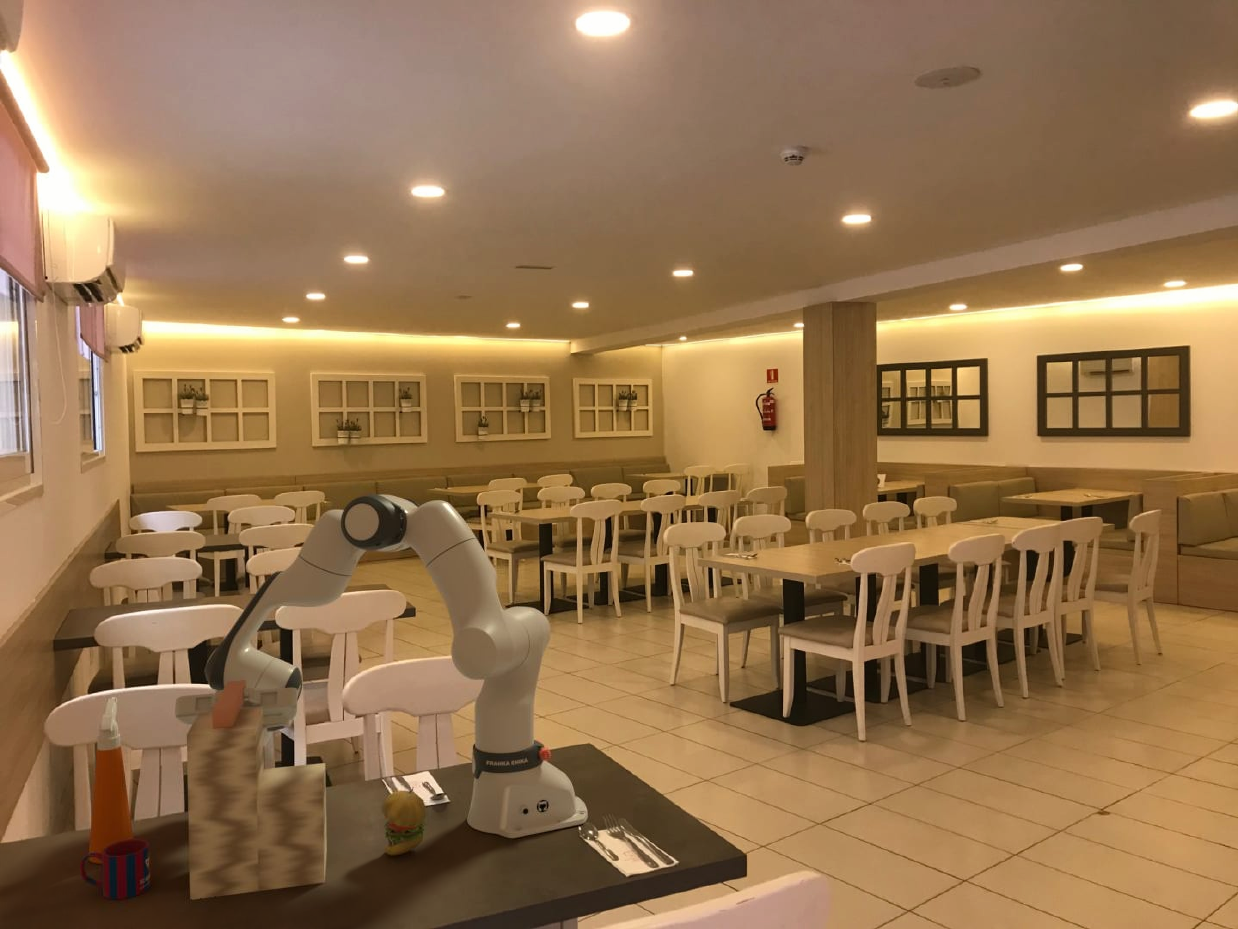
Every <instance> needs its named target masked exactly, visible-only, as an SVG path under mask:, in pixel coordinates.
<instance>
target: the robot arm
mask: <svg viewBox="0 0 1238 929" xmlns="http://www.w3.org/2000/svg"><path fill="white" fill-rule="evenodd" d="M303 542H304V543H303V544H302V546H301V548H300V549H299V550H300V551H299V552H298V554H297V556H296V558H295V560H294V561H293V562H292V563H291V564H290V566H288V567H287V568H286V569H284V570H279V571H275V572H274V573H272V574H271V575H270V576H269V577H268V578H267V579H266V580H265V581H264V582H263V583H262V585H261V586H260V587H259V589H258V590H257V591H256V592H255V594H254V595H253V597H252V598H251V600H250V601H249V602H248V604H247V605H246V606H245V608H244V610H243V611H242V612H241V614H240V616H239V617H238V618H237V620H236V621H235V622H234V624H233V626H232V627H231V629H230V630H229V632H228V633H227V635H226V636H225V637H224V639H222V641H221V642H220V644H219V645H218V646H217V648H215V649H214V651H213V652H212V653H211V654H210V656H209V658H208V659H207V662H206V664H205V667H204V670H203V671H204V675H205V678H206V681H207V683H208V686H209V687H210V689H211V690H215V693H205V694H203V693H201V694H191V695H189V694H188V695H180V696H178V697H177V698H176V700H175V711H174V713H175V714H174V715H175V719H177V720H178V721H179V722H180V723H183V724H185V725H191V726H192V725H193V723H194V721H195V719H196V718H197V716H198V714H199V713H206V712H212V709H213V707H214V706H215V704H216V702H217V700H218V698H219V697H220V695H221V693H222V691H223V689H224V688H225V686H226V684H227V682H229V681H242V680H246V689H243V700H244V703H243V706H242V708H241V710H243V709H256V708H263V747H265V745H267V744H268V742H269V740H270V738H271V737H272V734H273V732H275V731H279V730H282V729H287V728H290V727H291V726H292V721H293V719H294V718H295V717H296V716H297V713H298V701H299V699H300V696H301V693H302V688H303V677H302V673H301V671H300V668H299V667H297V666H296V665H294V664H291V663H290V662H286V661H284V660H283V659H280V658H277V657H275V656H272V655H269V654H268V653H266V652H263V651H261V650H259V649H256V648H255V647H254V646H253V645H252V642H251V641H252V639H253V638H254V637H255V635H256V633H257V632H258V631H259V629H260V628H261V627H262V625H263V624H264V622H265V621H266V619H267V617H268V616H269V615H270V613H272V611H273V610H274V609H275V608H281V607H298V608H299V607H300V608H316V607H322V606H327V605H329V604H331V603H334V602H336V601H337V600H338V599H339V598H340V597H341V596H342V595H343V593H344V591H345V590H346V589H347V586H348V584H349V582H351V581H350V580H351V578H352V576H353V574H354V572H355V569H356V567H357V565H358V562H359V561H360V559H361V557H362V556H363V555H364V554H365V553H366V552H368V551H369V552H373V551H375V552H380V553H393V552H394V553H395V552H404V551H405V552H406V551H408V550H414V551H415V553H416V554H417V555H418V557H419V559H420V560H421V562H422V563H423V566H424V568H425V569H426V571H427V572H428V574H429V576H430V577H431V578H430V579H432V581H433V583H434V585H435V587H436V589H437V591H438V593H439V594H440V596H441V598H442V599H443V601H444V604H445V606H446V608H447V611H448V615H449V620H450V624H451V627H452V632H453V638H452V642H451V649H450V651H451V652H450V654H451V659H452V662H453V664H454V667H455V668H456V670H457V671H458V672H459V673H460V675H462V676H463V677H465V678H468V679H470V680H475V681H477V680H483V682H482V686H481V688H480V692H479V693H478V696H477V698H476V700H475V703H474V744H473V745H472V753H471V768H472V774H473V777H474V778H473V789H472V796H471V802H470V806H469V812H468V815H467V819H466V821H467V824H468V825H469V826H470V827H471V828H473V829H475V830H478V831H479V832H484V833H489V834H496V835H498V836H502V837H504V838H506V839H507V838H508V839H515V838H516V839H517V838H520V837H525V836H526V837H527V836H530V835H535V834H541V833H545V832H551V831H554V830H560V829H564V828H568V827H574V826H579V825H582V824H585V823H586V822H587V820H588V818H589V815H588V813H589V812H588V808H587V806H586V803H585V802H584V801H583V800H582V799H581V798H580V797H578V796H577V795H576V794H575V788H574V786H573V784H572V781H571V780H570V778H569V777H568V776H567V774H566V773H565V772H563V771H562V770H560V769H559V768H557V767H556V766H554V765H553V764H551V763H550V762H548V760H550V758H551V756H552V754H551V751H550V750H549V748H548V747H546V746H545V745H544V744H543V743H542V742H540V741H539V739H535V700H536V699H535V698H536V691H537V686H538V682H539V675H540V672H541V667H542V660H543V657H544V654H545V651H546V648H547V646H548V644H549V642H550V639H551V632H552V631H551V626H550V622H549V621H548V619H547V617H546V615H545V614H544V613H543V612H541V610H538V609H536V608H534V607H530V606H511V607H509V608H507V609H503V607H502V603H501V602H500V598H499V595H498V590H497V581H498V574H497V570H496V569H495V567H494V565H493V563H492V562H491V561H490V558H489V556H488V555H487V554H486V552H485V550H484V549H483V547H482V545H481V543H480V541H479V540H478V538H477V537H476V535H475V533H474V532H473V530H472V529H471V527H470V526H469V525H468V523H467V522H466V521H465V519H464V518H463V517H462V516H461V514H459V512H458V511H457V509H455V507H454V506H453V505H452V504H451V503H450V502H447V501H445V500H440V499H437V500H430V501H427V502H425V503H423V504H421V505H420V504H418V503H417V502H416V501H414V500H412V499H409V498H405V497H404V498H403V497H398V496H395V495H393V494H375V493H370V494H364V495H360V496H358V497H355V498H354V499H353V500H351V501H350V502H349V503H348V504H347V505H346V506H345V508H343V509H330V510H326V511H325V512H324V513H323V514H321V516H320V517H319V518H318V520H317V521H316V523H315V524H314V525H313V527H312V529H311V530H310V532H309V534H308V535H307V536H306V539H305V540H304V541H303Z"/></svg>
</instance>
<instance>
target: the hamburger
mask: <svg viewBox="0 0 1238 929" xmlns="http://www.w3.org/2000/svg"><path fill="white" fill-rule="evenodd" d="M413 790H414V786H413V787H412V788H411V789H410V790H409V791H407V790H402V789H401V790H396V791H394V792H391V793H389V795H387V797H386V798H385V799H384V801H383V803H382V806H381V811H382V813H383V815H384V818H385V819H387V820H386V822H385V824H384V828H385V831H386V832H384V836H385V838H387V844H386V845H385V846H384V847H383V850H384V852H385V853H386V854H387V855H388V856H400V855H403V854H405V853H408V852H410V851H412V850H413V849H416V848H417V847H418V846H419V845H420V844H421V843H422V842H423V839H424V831H425V829H424V827H425V824H426V823H425V821H424V820H425V818H426V814H427V808H426V805H425V803H424V799H423V798H421V797H420V795H418V794H416V793H414V792H413Z"/></svg>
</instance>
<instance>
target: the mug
mask: <svg viewBox="0 0 1238 929" xmlns="http://www.w3.org/2000/svg"><path fill="white" fill-rule="evenodd" d="M150 854H151V853H150V842H149V841H148V840H146V839H143V838H133V839H129V840H123V841H119V842H116V843H113V844H111V845H109V846H107V847H106V848H105V849H104V850H103V851H102V853H90V854H89V853H88V854H86V855H85V856H84V857H83V858H82V860H81V861H80V866H79V872H80V876H81V878H82V879H83V881H84V882H86V883H87V884H89V885H91V886H94V887H101V888H102V896H103V897H104V898H105V899H108V900H125V899H129V898H133V897H136V896H139V895H140V894H142V893H144V892H146V891H147V890H149V888H150V886H151V865H150V864H151V862H150V861H151V860H150V859H151V858H150V856H151V855H150ZM89 857H96V858H99V859H100V860H102V864H101V865H102V867H101V868H102V870H101V871H102V876H101V877H102V879H101V880H96V879H93V878H90V876H88V874H87V872H86V869H85V864H86V861H87V859H89Z"/></svg>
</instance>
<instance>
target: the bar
mask: <svg viewBox="0 0 1238 929" xmlns="http://www.w3.org/2000/svg"><path fill="white" fill-rule="evenodd" d="M243 689H246V680H242V681H229V682H227V684H226V686H225V688H224V689H223V691H222V693H221V695H220V697H219V698H218V700H217V702H216V704H215V706H214V707H213V709H212V716H213V728H223V727H233V726H234V724H235V721H236V719H237V717H238V715H239V712H240V710H241V708H242V706H243V703H244V700H243Z"/></svg>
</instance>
